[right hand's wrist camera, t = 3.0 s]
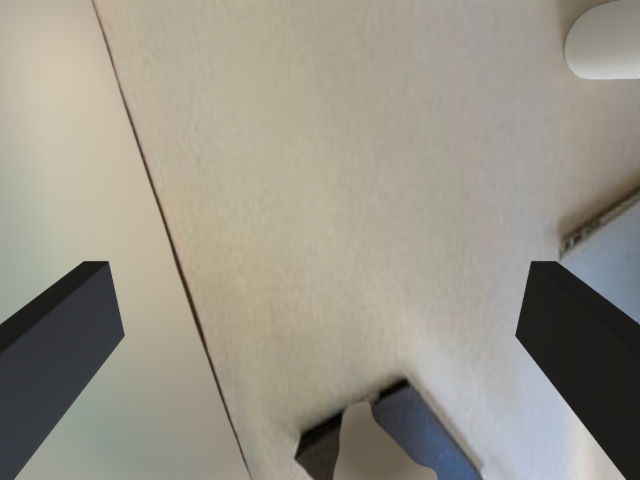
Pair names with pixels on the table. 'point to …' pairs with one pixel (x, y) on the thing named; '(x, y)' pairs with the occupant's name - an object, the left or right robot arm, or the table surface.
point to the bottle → (606, 42)
